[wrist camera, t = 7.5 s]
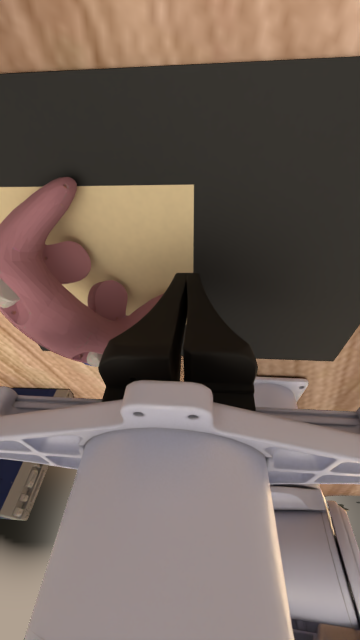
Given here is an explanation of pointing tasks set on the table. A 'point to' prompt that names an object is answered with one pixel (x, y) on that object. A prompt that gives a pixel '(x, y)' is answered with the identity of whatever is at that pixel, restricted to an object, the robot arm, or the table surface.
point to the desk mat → (205, 187)
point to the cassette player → (23, 472)
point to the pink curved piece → (57, 282)
